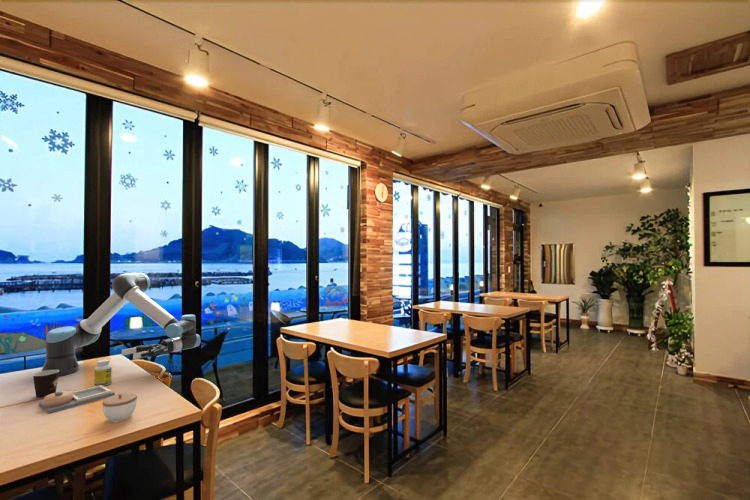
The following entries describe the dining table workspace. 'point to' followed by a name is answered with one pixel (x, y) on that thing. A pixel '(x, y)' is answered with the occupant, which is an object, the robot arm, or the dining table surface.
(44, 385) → the dark brown tapered cup
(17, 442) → the dining table surface
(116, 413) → the lidded jar
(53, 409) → the board
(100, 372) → the pill bottle
